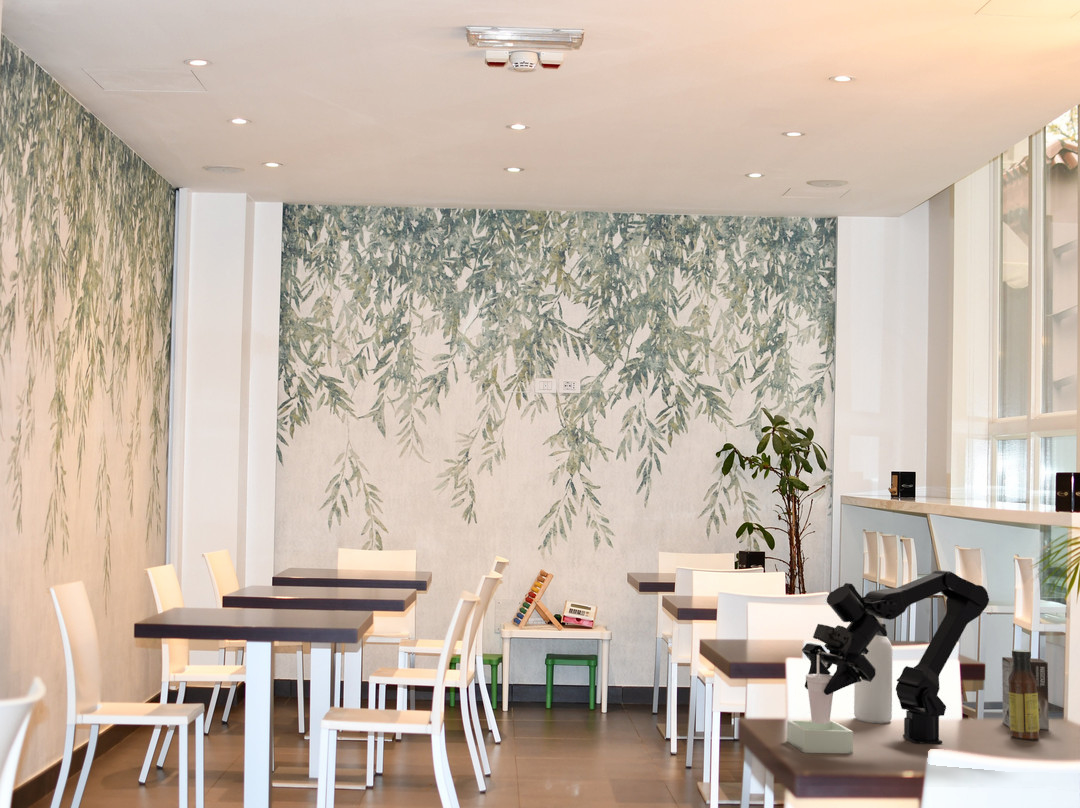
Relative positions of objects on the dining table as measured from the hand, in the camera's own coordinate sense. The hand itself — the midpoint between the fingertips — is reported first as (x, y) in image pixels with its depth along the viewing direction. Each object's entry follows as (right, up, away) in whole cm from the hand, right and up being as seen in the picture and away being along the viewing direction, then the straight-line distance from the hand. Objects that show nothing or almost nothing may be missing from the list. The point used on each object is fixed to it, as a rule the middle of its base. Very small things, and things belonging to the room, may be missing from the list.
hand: (815, 690), depth 230 cm
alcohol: (+22, -16, +32) cm, 42 cm away
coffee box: (+59, -17, +32) cm, 70 cm away
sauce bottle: (+53, -16, +18) cm, 58 cm away
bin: (+1, -12, -1) cm, 12 cm away
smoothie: (+1, -7, 0) cm, 7 cm away
